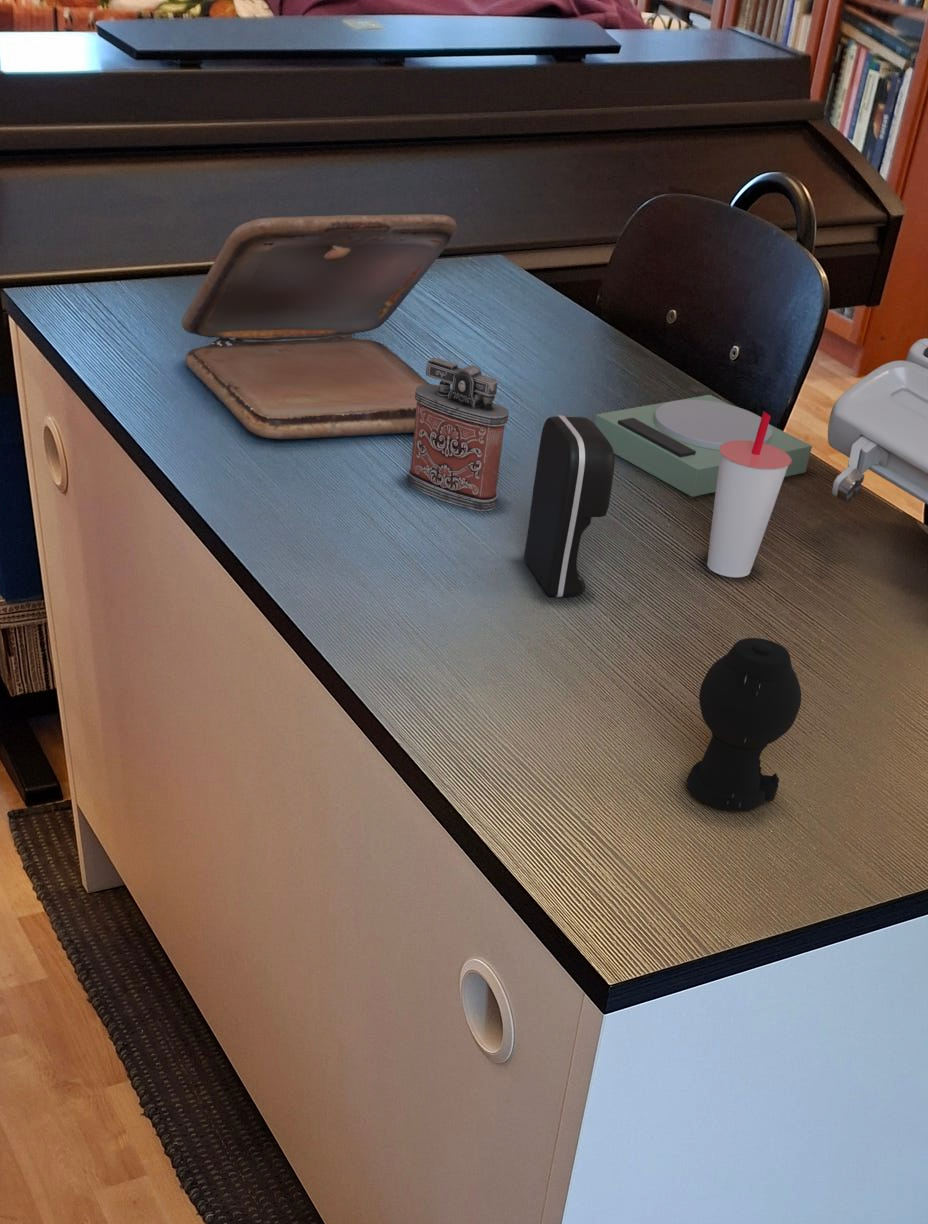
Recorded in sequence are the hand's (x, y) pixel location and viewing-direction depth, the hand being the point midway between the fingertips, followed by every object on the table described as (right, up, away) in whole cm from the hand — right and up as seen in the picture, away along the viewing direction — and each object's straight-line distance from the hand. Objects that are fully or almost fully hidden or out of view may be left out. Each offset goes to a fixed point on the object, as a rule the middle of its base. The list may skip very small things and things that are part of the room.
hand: (890, 523), depth 118 cm
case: (-44, +19, +24) cm, 54 cm away
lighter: (-33, +6, +11) cm, 35 cm away
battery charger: (-25, -4, +1) cm, 25 cm away
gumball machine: (-16, -24, -20) cm, 35 cm away
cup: (-11, -2, +5) cm, 13 cm away
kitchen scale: (-11, +13, +23) cm, 28 cm away
